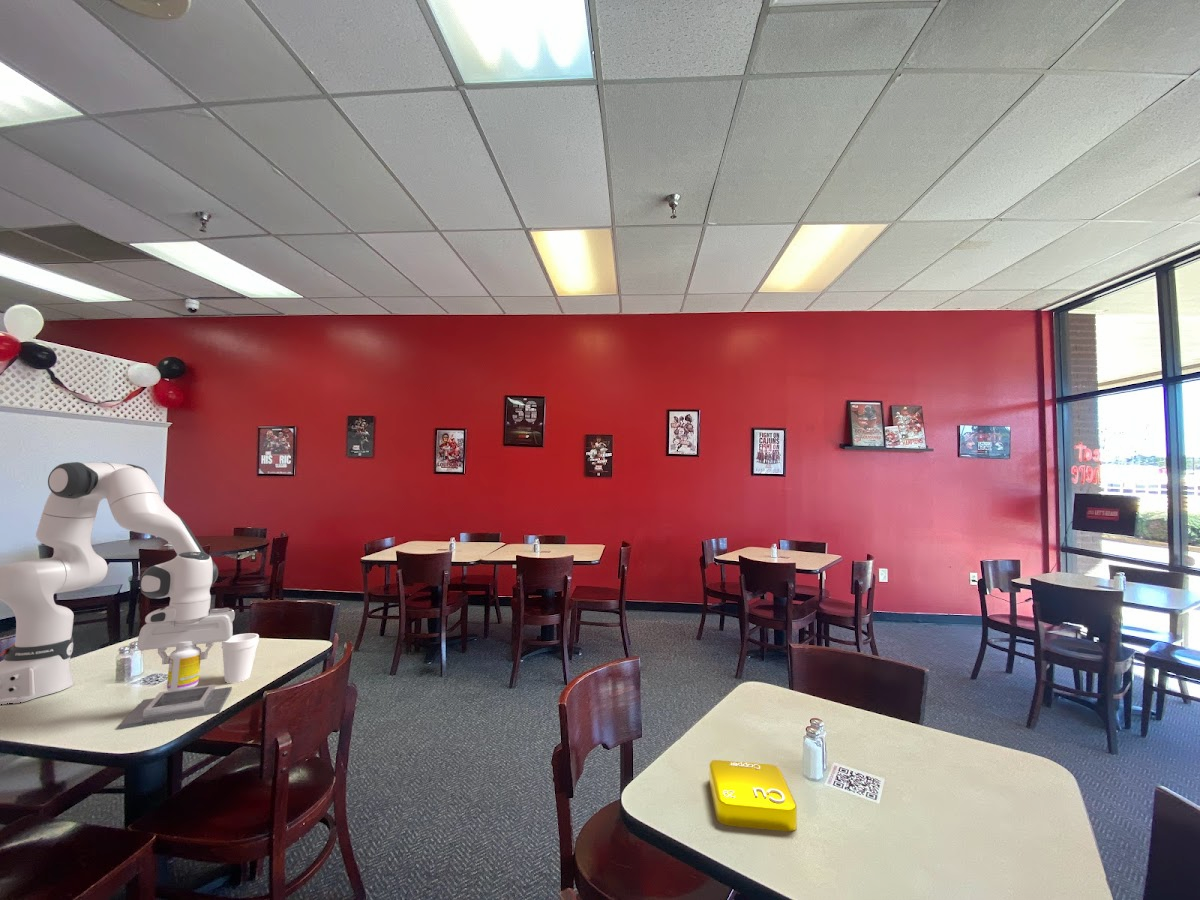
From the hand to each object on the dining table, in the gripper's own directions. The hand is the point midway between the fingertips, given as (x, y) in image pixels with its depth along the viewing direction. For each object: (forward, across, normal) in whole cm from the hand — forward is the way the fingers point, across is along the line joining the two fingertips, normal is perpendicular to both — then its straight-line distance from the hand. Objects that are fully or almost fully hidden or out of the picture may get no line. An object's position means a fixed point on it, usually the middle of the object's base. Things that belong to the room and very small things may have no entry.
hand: (185, 661), depth 131 cm
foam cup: (+13, -10, -17) cm, 23 cm away
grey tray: (+12, 0, 0) cm, 13 cm away
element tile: (+14, -112, +102) cm, 152 cm away
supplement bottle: (+7, 0, 0) cm, 7 cm away
